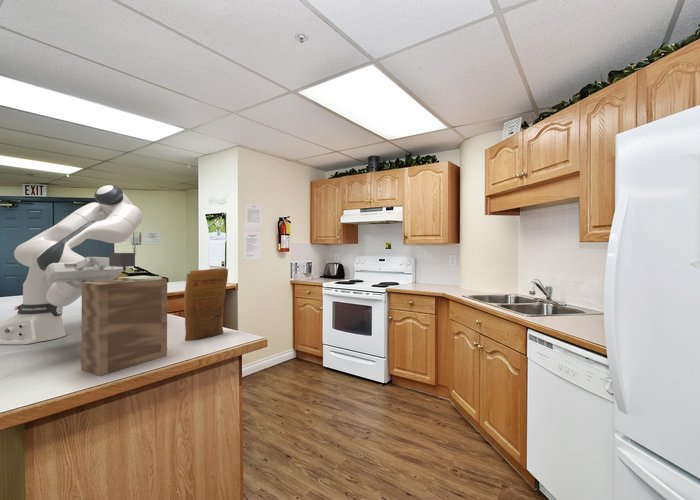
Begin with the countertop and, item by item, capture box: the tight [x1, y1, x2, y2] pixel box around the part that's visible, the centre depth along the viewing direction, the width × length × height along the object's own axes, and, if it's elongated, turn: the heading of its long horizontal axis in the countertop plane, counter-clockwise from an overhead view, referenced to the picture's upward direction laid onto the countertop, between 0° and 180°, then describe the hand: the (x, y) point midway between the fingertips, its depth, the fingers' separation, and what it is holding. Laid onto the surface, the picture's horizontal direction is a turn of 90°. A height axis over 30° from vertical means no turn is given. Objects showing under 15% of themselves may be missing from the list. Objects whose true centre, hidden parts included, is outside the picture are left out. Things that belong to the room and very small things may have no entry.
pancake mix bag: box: [183, 267, 229, 341], centre depth 132 cm, size 7×19×28 cm, turn 142°
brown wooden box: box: [80, 275, 168, 377], centre depth 103 cm, size 10×20×27 cm, turn 153°
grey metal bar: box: [85, 252, 136, 268], centre depth 101 cm, size 21×4×4 cm, turn 63°
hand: (96, 259), depth 104 cm, fingers closed on grey metal bar, 2 cm apart
